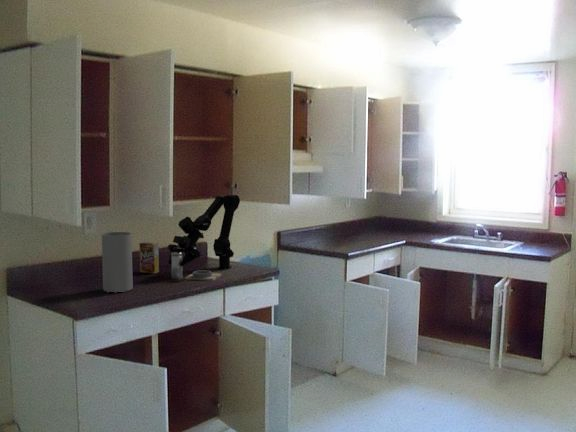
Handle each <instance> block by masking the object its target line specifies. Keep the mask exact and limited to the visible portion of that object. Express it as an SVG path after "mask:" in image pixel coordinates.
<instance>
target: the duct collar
mask: <svg viewBox="0 0 576 432" xmlns="http://www.w3.org/2000/svg"><path fill="white" fill-rule="evenodd" d="M212 273H213V272H212V271H211V270H206V269H204V270H203V269H202V270H201V269H200V270H194V271H192V274H193V277H195V278H208V277H211V276H212Z"/></svg>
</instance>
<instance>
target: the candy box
mask: <svg viewBox="0 0 576 432" xmlns="http://www.w3.org/2000/svg"><path fill="white" fill-rule="evenodd" d="M159 254H160V253H159V242H148V241H142V242H139V272H140V273H146V274H158V273H159V272H160V268H159V267H160V265H159V263H160V262H159V261H160V260H159V257H160V256H159Z"/></svg>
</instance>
